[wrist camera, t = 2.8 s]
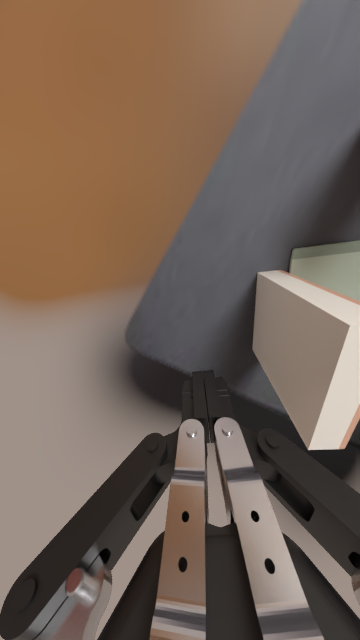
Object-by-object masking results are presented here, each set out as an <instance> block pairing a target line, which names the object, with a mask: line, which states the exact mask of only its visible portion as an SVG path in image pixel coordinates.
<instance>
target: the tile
mask: <svg viewBox="0 0 360 640" xmlns="http://www.w3.org/2000/svg"><path fill="white" fill-rule="evenodd" d="M252 350H253V351H254V353H255V355H256V357H257V359H258V360H259V362H260V364H261V366H262V368H263V369H264V371H265V373H266V375H267V377H268V378H269V380H270V382H271V384H272V386H273V387H274V389H275V391H276V393H277V395H278V396H279V398H280V400H281V402H282V404H283V405H284V407H285V409H286V411H287V413H288V414H289V416H290V418H291V420H292V422H293V423H294V425H295V427H296V429H297V431H298V432H299V434H300V436H301V438H302V440H303V441H304V443H305V445H306V447H307V449H308V450H322V449H345V447H346V445H347V443H348V441H349V439H350V437H351V435H352V433H353V431H354V429H355V427H356V425H357V423H358V421H359V419H360V301H357V300H355V299H352V298H350V297H347V296H345V295H342V294H340V293H337V292H335V291H332V290H330V289H327V288H325V287H323V286H320V285H318V284H315V283H313V282H310V281H308V280H305V279H303V278H300V277H298V276H295V275H293V274H290V273H288V272H285V271H283V270H275V271H266V272H258V274H257V288H256V303H255V318H254V333H253V347H252Z"/></svg>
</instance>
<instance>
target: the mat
mask: <svg viewBox="0 0 360 640" xmlns="http://www.w3.org/2000/svg"><path fill="white" fill-rule="evenodd" d="M289 273H290V274H293V275H295V276H298V277H300V278H303V279H305V280H308V281H310V282H313V283H315V284H318V285H320V286H323V287H325V288H327V289H330V290H332V291H335V292H337V293H340V294H342V295H345V296H347V297H350V298H352V299H355V300H357V301H360V240H359V241H351V242H343V243H334V244H326V245H318V246H310V247H302V248H294V249H292V253H291V260H290V267H289Z"/></svg>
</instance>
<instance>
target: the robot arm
mask: <svg viewBox="0 0 360 640" xmlns="http://www.w3.org/2000/svg"><path fill="white" fill-rule="evenodd" d="M192 376H193V379H190V380H185V382H184V384H183V391H182V392H183V394H182V422H181V424H180V427H179V428H178V429H177V430H176V431H175V432H173V433H171V434H168V435H166V436H164V437H163V436H162V435H161V434H159V433H152V434H150V435H148V436H146V437H145V438H144V439H143V440H142V441H141V443H140V444H139V445H138V446H137V447H136V448H135V449H134V450H133V451H132V453H131V454H130V455H129V456H128V457H127V458H126V459H125V460H124V461H123V462H122V464H121V465H120V466H119V467H118V468H117V469H116V470H115V471H114V472H113V474H111V476H110V477H109V478H108V479H107V480H106V481H105V482H104V483H103V484H102V485H101V487H100V488H99V489H98V490H97V491H96V492H95V493H94V494H93V495H92V496H91V498H90V499H89V500H88V501H87V502H86V503H85V504H84V505H83V507H81V509H80V510H79V511H78V512H77V513H76V514H75V515H74V516H73V518H72V519H71V520H70V521H69V522H68V523H67V524H66V525H65V526H64V527H63V529H62V530H61V531H60V532H59V533H58V534H57V535H56V536H55V537H54V538H53V539H52V541H51V542H50V543H49V544H48V545H47V546H46V547H45V548H44V549H43V550H42V552H41V553H40V554H39V555H38V556H37V557H36V558H35V559H34V561H32V563H31V564H30V565H29V566H28V567H27V568H26V569H25V570H24V571H23V572H22V574H21V575H20V576H19V577H18V579H17V580H16V581H15V583H14V584H13V586H12V588H11V589H10V591H9V593H8V595H7V597H6V599H5V601H4V604H3V607H2V610H1V613H0V635H1V637H2V638H3V639H5V640H94V639H95V634H96V631H97V627H98V625H99V622H100V619H101V617H102V615H103V613H104V611H105V609H106V607H107V605H108V602H109V599H110V595H111V591H112V574H111V570H112V569H113V567H114V566H115V564H116V563H117V561H118V560H119V558H120V557H121V555H122V554H123V552H124V551H125V549H126V548H127V546H128V545H129V543H130V542H131V540H132V539H133V537H134V536H135V534H136V533H137V531H138V530H139V528H140V527H141V525H142V524H143V522H144V521H145V519H146V518H147V516H148V515H149V513H150V512H151V510H152V509H153V507H154V506H155V504H156V503H157V501H158V500H159V498H160V497H161V495H162V494H163V492H164V491H165V489H166V488H167V486H168V485H169V483H170V482H171V484H170V493H169V501H168V509H167V517H166V526H165V531H164V532H162V533H161V534H160V535H159V536H158V537H157V538H156V539H155V540H154V542H153V543H152V545H151V546H150V547H149V549H148V551H147V553H146V555H145V556H144V558H143V560H142V561H141V563H140V565H139V567H138V568H137V570H136V572H135V574H134V576H133V577H132V579H131V581H130V583H129V585H128V586H127V588H126V590H125V591H124V593H123V595H122V597H121V599H120V601H119V602H118V604H117V606H116V607H115V609H114V611H113V613H112V615H111V616H110V618H109V620H108V622H107V623H106V625H105V627H104V629H103V630H102V632H101V634H100V636H99V638H98V639H97V640H360V619H359V618H358V617H357V615H356V614H355V613H354V612H353V610H352V609H351V608H350V607H349V606H348V604H347V603H346V602H345V601H344V600H343V599H342V597H341V596H340V595H339V594H338V593H337V591H336V590H335V589H334V588H333V587H332V585H331V584H330V583H329V582H328V581H327V579H326V578H325V577H324V576H323V575H322V573H321V572H320V571H319V570H318V569H317V567H316V566H315V565H314V564H313V563H312V561H311V560H310V559H309V558H308V557H307V555H306V554H305V553H304V552H303V551H302V550H301V548H300V547H299V546H298V545H297V544H296V543H294V541H292V540H291V539H290V538H289V537H288V536H286V535H285V534H283V533H282V532H281V530H280V527H279V524H278V522H277V519H276V516H275V513H274V511H273V508H272V505H271V503H270V500H269V497H268V494H267V492H266V489H265V487H266V488H267V489H268V490H269V491H270V492H271V493H272V494H273V495H274V496H275V497H276V498H277V499H278V500H279V501H280V502H281V504H282V505H284V507H285V508H286V509H287V510H288V511H289V512H290V513H291V514H292V515H293V516H294V517H295V518H296V519H297V520H298V521H299V522H300V523H301V525H302V526H303V527H304V528H305V529H306V530H307V531H308V532H309V533H310V534H311V535H312V536H313V537H314V538H315V539H316V540H317V541H318V542H319V543H320V545H321V546H322V547H324V549H325V550H326V551H327V552H328V553H329V554H330V555H331V556H332V557H333V558H334V559H335V560H336V561H337V562H338V563H339V564H340V566H342V568H343V569H344V570H345V571H346V572H347V573H348V574H349V575H350V576H351V577H352V587H353V591H354V594H355V596H356V599H357V601H358V603H359V605H360V494H359V493H358V492H356V491H355V490H354V489H353V488H351V487H350V486H349V485H347V484H346V483H345V482H343V481H342V480H341V479H340V478H338V477H337V476H336V475H334V474H333V473H332V472H330V471H329V470H328V469H326V468H325V467H324V466H322V465H321V464H320V463H319V462H317V461H316V460H315V459H313V458H312V457H311V456H309V455H308V454H307V453H305V452H304V451H303V450H302V449H300V448H299V447H298V446H296V445H295V444H294V443H292V442H291V441H290V440H288V439H287V438H286V437H284V436H283V435H282V434H280V433H279V432H278V431H276V430H273V429H263V430H261V431H260V432H256V431H252V430H248V429H246V428H244V427H243V426H241V425H240V424H239V423H238V421H237V420H236V418H235V414H234V411H233V407H232V403H231V399H230V396H229V392H228V388H227V384H226V382H225V381H224V380H223V378H222V377H218V378H215V377H214V372H213V370H209V371H203V373H202V371H196V372H192ZM203 376H204V382H203ZM204 388H205V390H204ZM205 397H206V399H205ZM206 406H207V408H206ZM207 414H208V416H207ZM208 423H209V428H208ZM209 430H210V440H211V443H214V444H215V451H216V461H217V465H218V471H219V475H220V481H221V486H222V491H223V496H224V500H225V507H226V514H227V520H228V525H226V526H224V527H217V526H214V525H211V524H209V511H208V485H207V484H208V483H207V455H208V454H207V443H210V440H209Z"/></svg>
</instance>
